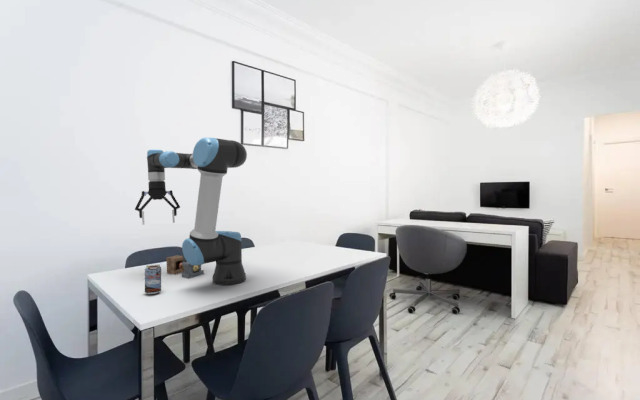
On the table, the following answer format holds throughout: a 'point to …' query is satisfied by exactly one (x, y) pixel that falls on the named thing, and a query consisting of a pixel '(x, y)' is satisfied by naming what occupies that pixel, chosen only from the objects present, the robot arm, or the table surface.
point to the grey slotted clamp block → (191, 271)
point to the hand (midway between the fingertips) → (158, 223)
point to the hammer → (195, 267)
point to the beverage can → (152, 279)
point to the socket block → (174, 264)
